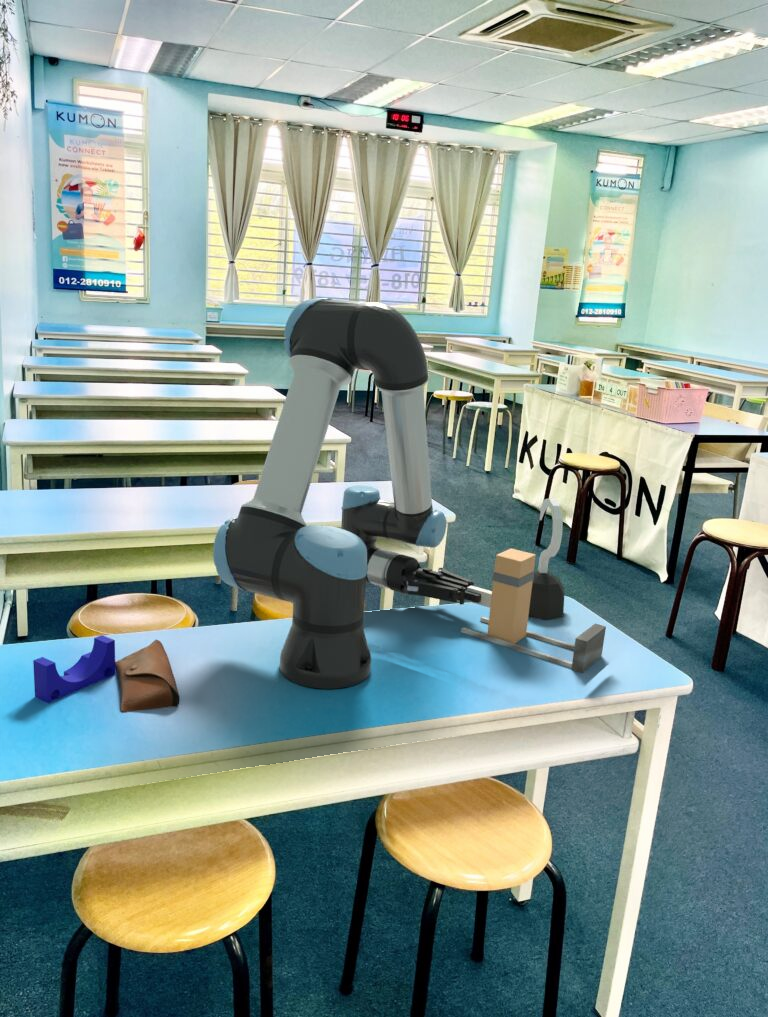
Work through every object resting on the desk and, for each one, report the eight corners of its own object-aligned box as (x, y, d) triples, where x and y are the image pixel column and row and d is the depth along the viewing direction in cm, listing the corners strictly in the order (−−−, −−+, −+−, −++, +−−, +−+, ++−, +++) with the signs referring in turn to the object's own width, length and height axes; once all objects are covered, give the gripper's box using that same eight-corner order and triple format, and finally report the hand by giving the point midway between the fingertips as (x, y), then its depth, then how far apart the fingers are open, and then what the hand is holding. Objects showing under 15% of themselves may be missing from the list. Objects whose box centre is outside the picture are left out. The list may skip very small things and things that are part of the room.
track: (459, 640, 145) (462, 603, 143) (482, 626, 152) (486, 591, 150) (581, 680, 132) (586, 641, 130) (600, 664, 139) (605, 626, 137)
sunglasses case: (109, 660, 127) (131, 626, 127) (148, 676, 130) (169, 642, 130) (120, 714, 111) (145, 675, 111) (163, 730, 114) (187, 692, 114)
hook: (504, 606, 164) (517, 491, 158) (554, 607, 165) (569, 493, 159) (520, 627, 153) (534, 504, 147) (573, 628, 154) (589, 506, 148)
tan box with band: (486, 637, 143) (495, 555, 139) (501, 628, 148) (510, 548, 144) (511, 646, 140) (521, 561, 136) (526, 636, 145) (536, 554, 141)
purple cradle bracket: (96, 667, 125) (95, 632, 123) (115, 675, 123) (114, 640, 121) (28, 694, 115) (26, 657, 113) (47, 704, 113) (46, 666, 111)
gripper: (411, 581, 164) (512, 611, 151) (374, 597, 153) (480, 630, 140) (413, 547, 162) (516, 574, 149) (377, 560, 151) (484, 591, 139)
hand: (498, 601), depth 145 cm, fingers closed
